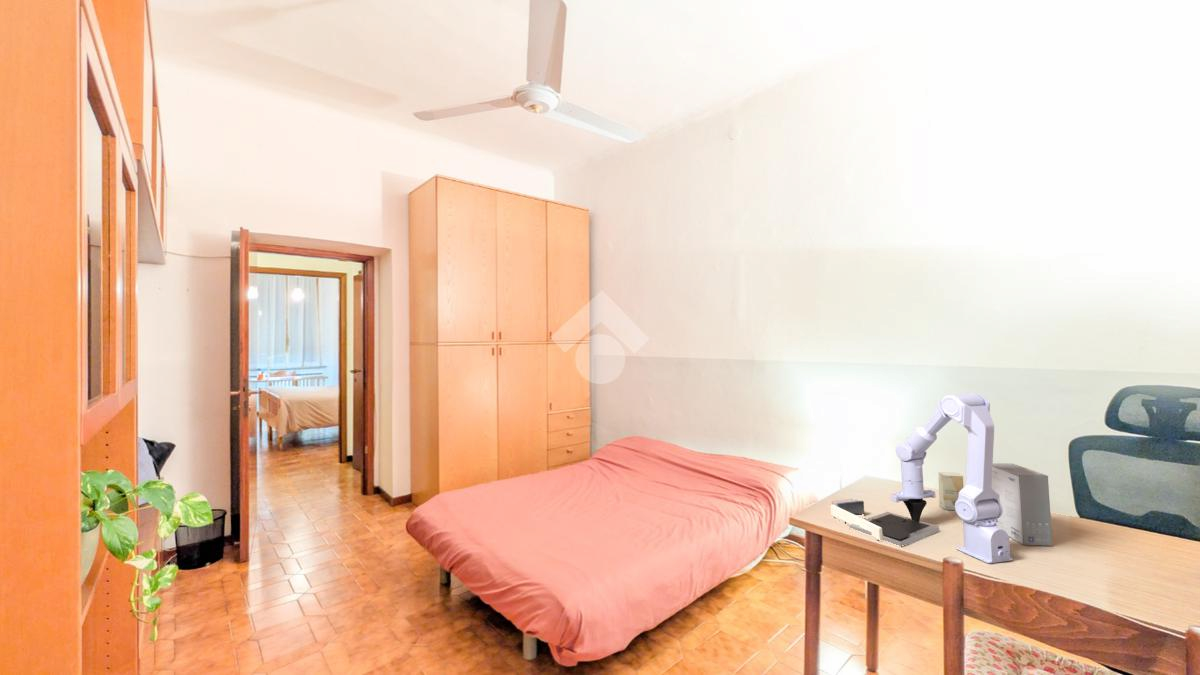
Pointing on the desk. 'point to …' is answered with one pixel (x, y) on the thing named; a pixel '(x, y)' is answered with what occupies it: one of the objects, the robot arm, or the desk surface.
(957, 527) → the desk surface
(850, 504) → the bookend
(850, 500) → the orange and blue block
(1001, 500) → the hard drive box
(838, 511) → the shelf wall
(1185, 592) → the desk surface
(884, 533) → the picture frame
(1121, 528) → the desk surface
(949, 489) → the skincare box
